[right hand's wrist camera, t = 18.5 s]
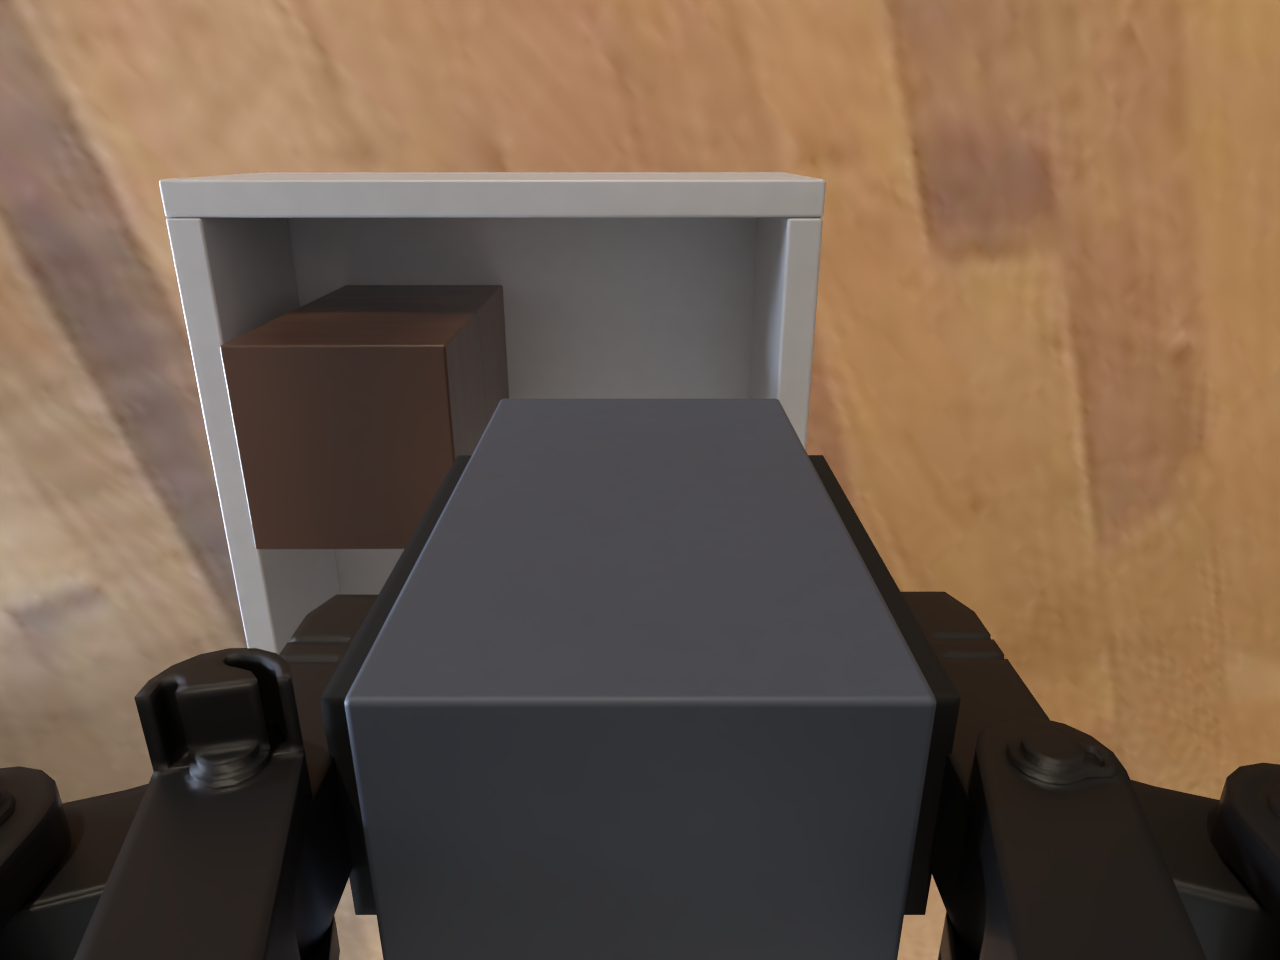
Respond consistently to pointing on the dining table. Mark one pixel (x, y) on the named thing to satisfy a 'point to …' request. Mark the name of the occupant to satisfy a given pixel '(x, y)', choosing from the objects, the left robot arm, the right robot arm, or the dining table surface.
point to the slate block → (640, 703)
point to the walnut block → (362, 409)
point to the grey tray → (533, 301)
